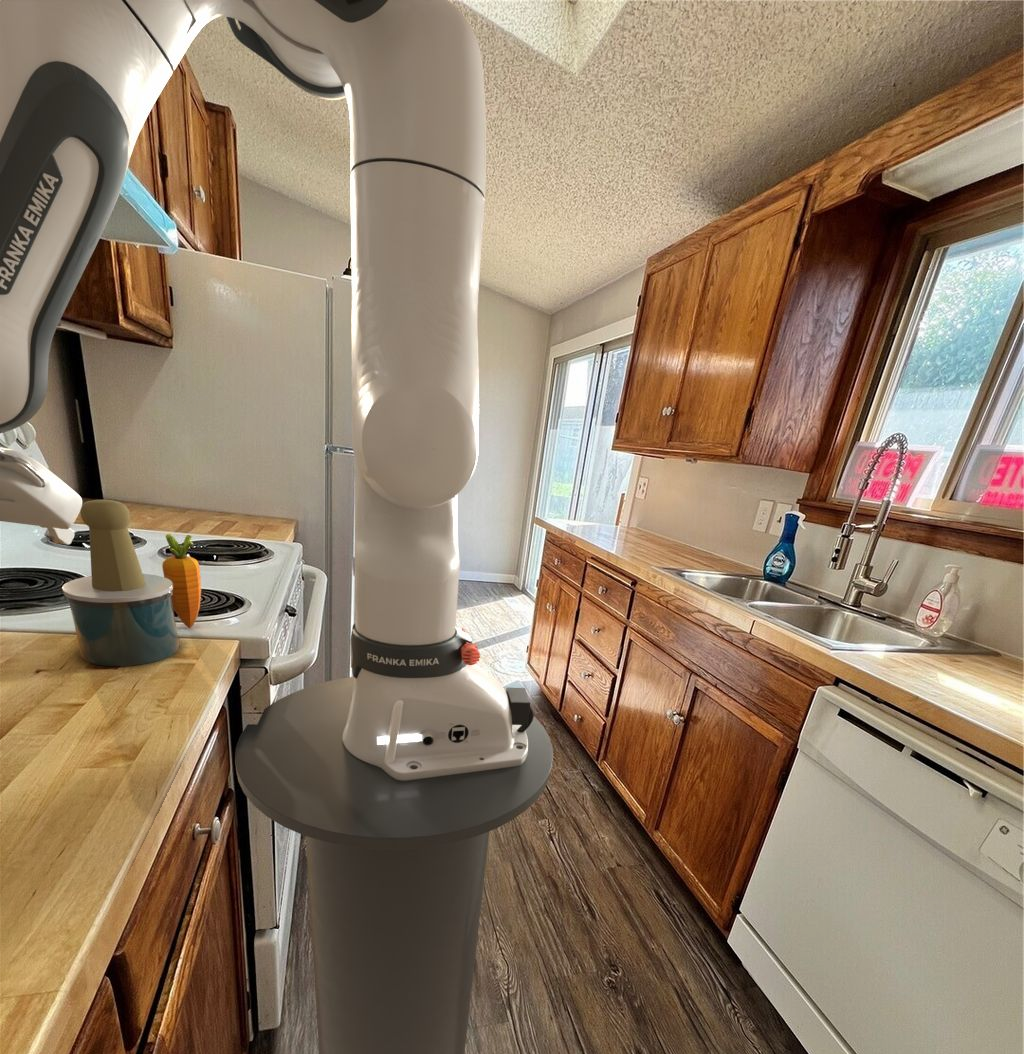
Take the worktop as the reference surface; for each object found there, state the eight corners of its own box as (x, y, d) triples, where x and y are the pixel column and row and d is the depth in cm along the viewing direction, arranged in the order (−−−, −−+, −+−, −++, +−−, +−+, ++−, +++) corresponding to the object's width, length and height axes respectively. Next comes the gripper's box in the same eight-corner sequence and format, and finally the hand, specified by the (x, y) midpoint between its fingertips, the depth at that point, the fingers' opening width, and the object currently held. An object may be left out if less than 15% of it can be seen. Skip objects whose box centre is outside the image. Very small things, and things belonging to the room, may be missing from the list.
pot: (194, 636, 86) (185, 575, 82) (163, 668, 75) (152, 600, 71) (103, 633, 83) (90, 570, 79) (58, 666, 72) (40, 595, 68)
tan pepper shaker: (99, 578, 76) (82, 495, 72) (150, 579, 79) (136, 498, 74) (86, 591, 71) (66, 502, 67) (140, 591, 74) (125, 505, 69)
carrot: (203, 620, 92) (191, 529, 86) (210, 630, 89) (198, 535, 82) (168, 624, 89) (153, 530, 83) (175, 634, 86) (160, 536, 79)
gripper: (28, 422, 48) (127, 521, 61) (-196, 395, 49) (-51, 499, 62) (-5, 480, 46) (105, 569, 59) (-240, 451, 47) (-79, 546, 60)
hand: (24, 533), depth 60 cm, fingers open, 8 cm apart
